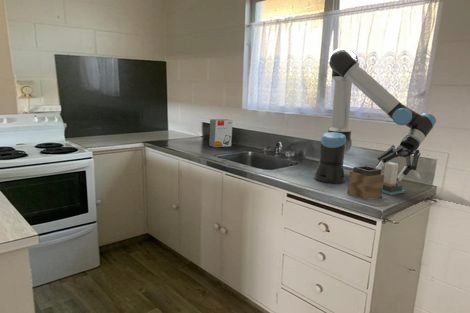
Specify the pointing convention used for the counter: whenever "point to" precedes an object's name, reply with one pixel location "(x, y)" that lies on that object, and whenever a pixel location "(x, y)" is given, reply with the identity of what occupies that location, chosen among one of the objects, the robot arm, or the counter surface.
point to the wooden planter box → (366, 182)
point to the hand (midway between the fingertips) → (386, 176)
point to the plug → (390, 174)
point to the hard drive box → (220, 132)
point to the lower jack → (393, 189)
